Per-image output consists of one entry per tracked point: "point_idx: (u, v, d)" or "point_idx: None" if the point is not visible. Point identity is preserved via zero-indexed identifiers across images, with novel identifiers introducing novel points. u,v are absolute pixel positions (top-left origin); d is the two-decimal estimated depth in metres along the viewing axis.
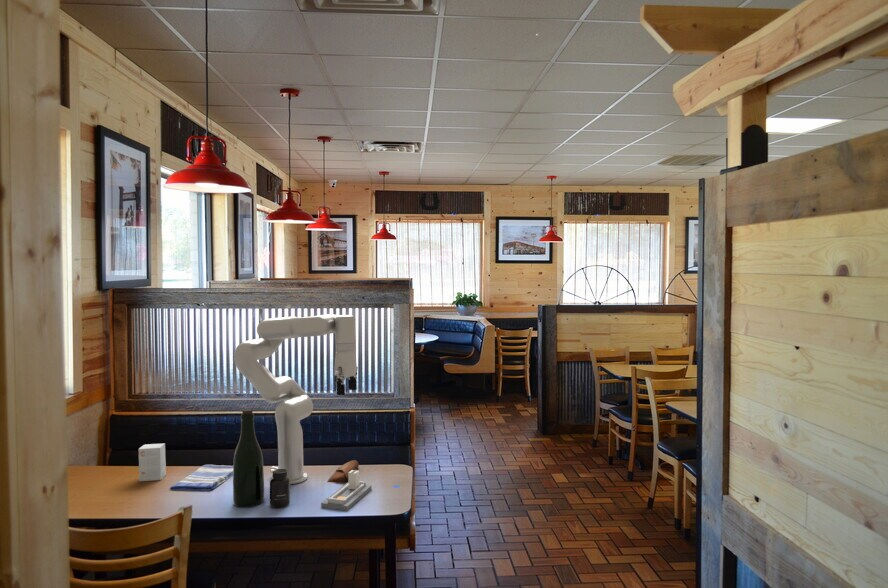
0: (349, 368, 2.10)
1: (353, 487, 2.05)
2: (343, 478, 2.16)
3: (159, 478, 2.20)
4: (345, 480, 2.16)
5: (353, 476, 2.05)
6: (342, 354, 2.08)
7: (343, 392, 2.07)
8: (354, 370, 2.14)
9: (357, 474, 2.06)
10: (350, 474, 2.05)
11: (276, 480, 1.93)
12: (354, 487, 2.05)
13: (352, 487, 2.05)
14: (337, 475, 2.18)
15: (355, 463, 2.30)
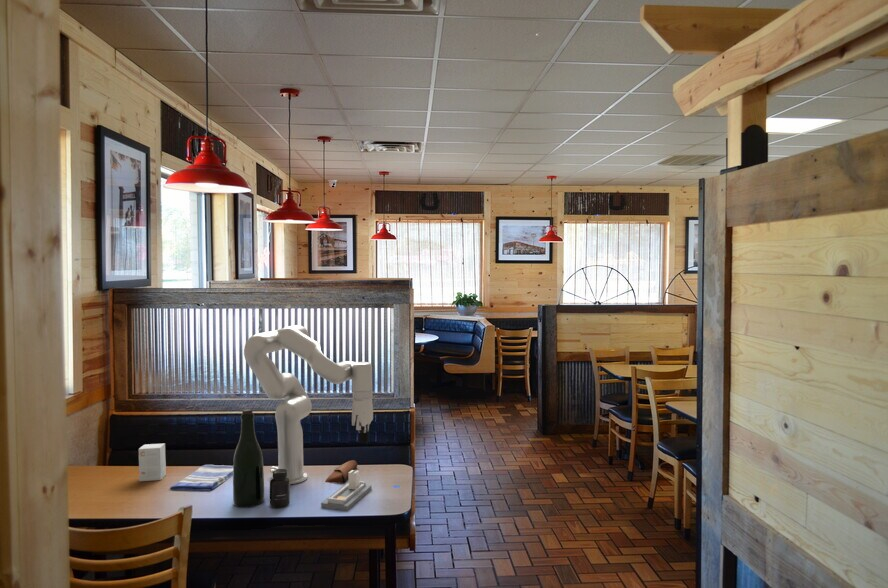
0: (366, 416, 2.11)
1: (353, 487, 2.05)
2: (340, 478, 2.16)
3: (159, 478, 2.20)
4: (343, 480, 2.16)
5: (353, 476, 2.05)
6: (359, 402, 2.09)
7: (366, 440, 2.13)
8: (371, 417, 2.15)
9: (357, 474, 2.06)
10: (350, 474, 2.05)
11: (276, 480, 1.93)
12: (354, 487, 2.05)
13: (352, 487, 2.05)
14: (335, 475, 2.19)
15: (354, 463, 2.30)
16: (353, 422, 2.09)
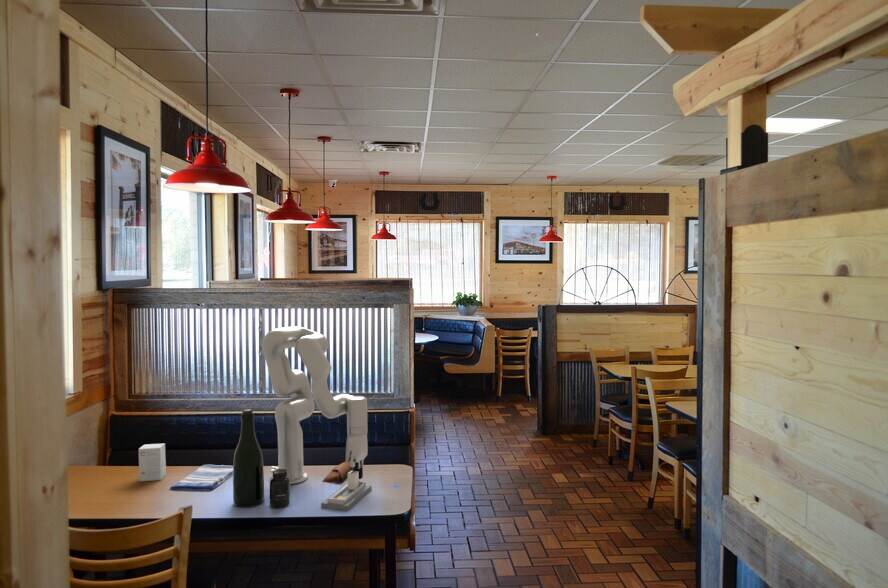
0: (361, 452, 2.07)
1: (352, 488, 2.04)
2: (338, 478, 2.16)
3: (159, 478, 2.20)
4: (340, 480, 2.16)
5: (352, 477, 2.04)
6: (354, 438, 2.05)
7: (360, 476, 2.09)
8: (365, 452, 2.11)
9: (356, 475, 2.05)
10: (349, 475, 2.05)
11: (276, 480, 1.93)
12: (353, 488, 2.04)
13: (351, 488, 2.04)
14: (332, 475, 2.19)
15: None
16: (347, 458, 2.05)
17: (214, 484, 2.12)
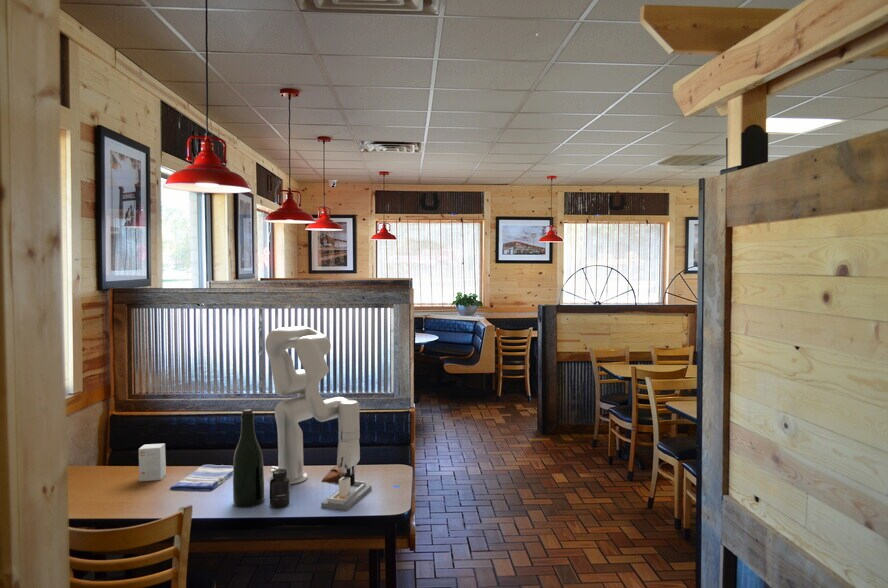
0: (352, 457, 2.00)
1: (344, 495, 1.98)
2: (337, 478, 2.17)
3: (159, 478, 2.20)
4: None
5: (344, 484, 1.98)
6: (345, 444, 1.98)
7: (351, 483, 2.02)
8: (357, 458, 2.05)
9: (348, 481, 1.99)
10: (341, 481, 1.98)
11: (276, 480, 1.93)
12: (345, 495, 1.98)
13: (343, 495, 1.98)
14: (331, 475, 2.19)
15: None
16: (338, 464, 1.99)
17: (214, 484, 2.12)
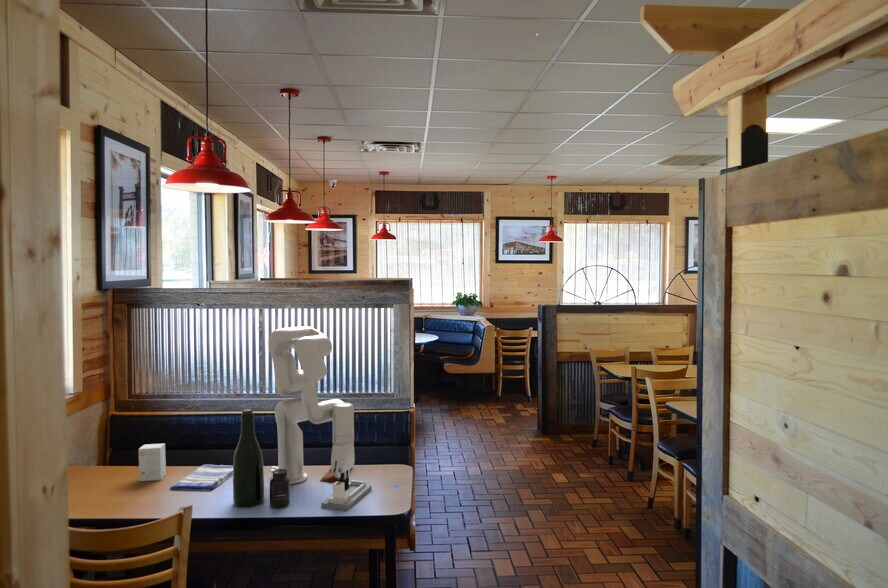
0: (347, 461, 1.96)
1: None
2: (335, 478, 2.17)
3: (159, 478, 2.20)
4: (337, 480, 2.17)
5: (338, 488, 1.93)
6: (339, 447, 1.94)
7: (346, 487, 1.98)
8: (352, 462, 2.00)
9: (342, 486, 1.94)
10: (334, 486, 1.94)
11: (276, 480, 1.93)
12: None
13: None
14: (330, 474, 2.19)
15: None
16: (332, 468, 1.94)
17: (214, 484, 2.12)
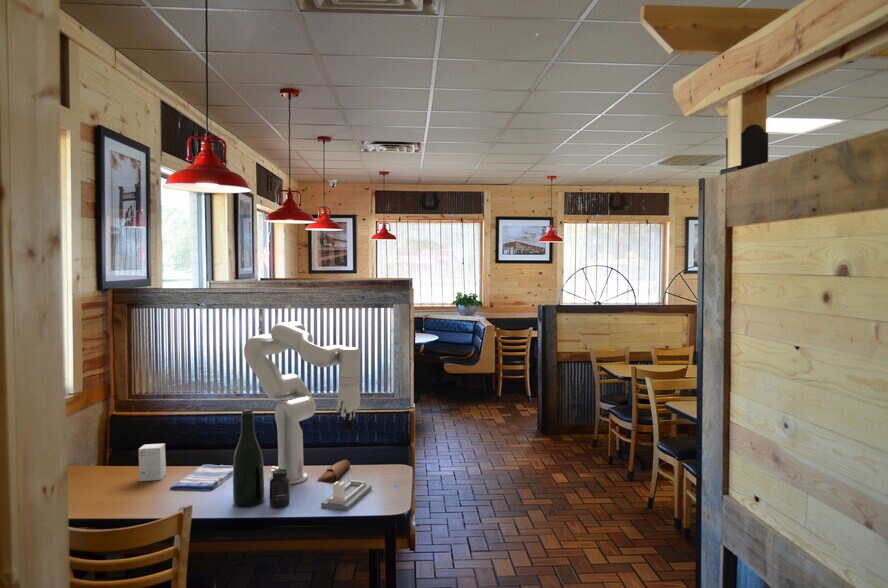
0: (352, 402, 2.04)
1: None
2: (332, 477, 2.17)
3: (159, 478, 2.20)
4: (334, 479, 2.17)
5: (338, 488, 1.93)
6: (345, 388, 2.02)
7: (351, 427, 2.06)
8: (357, 404, 2.08)
9: (342, 486, 1.94)
10: (334, 486, 1.94)
11: (276, 480, 1.93)
12: None
13: None
14: (327, 474, 2.19)
15: (346, 463, 2.31)
16: (338, 408, 2.03)
17: (214, 484, 2.12)
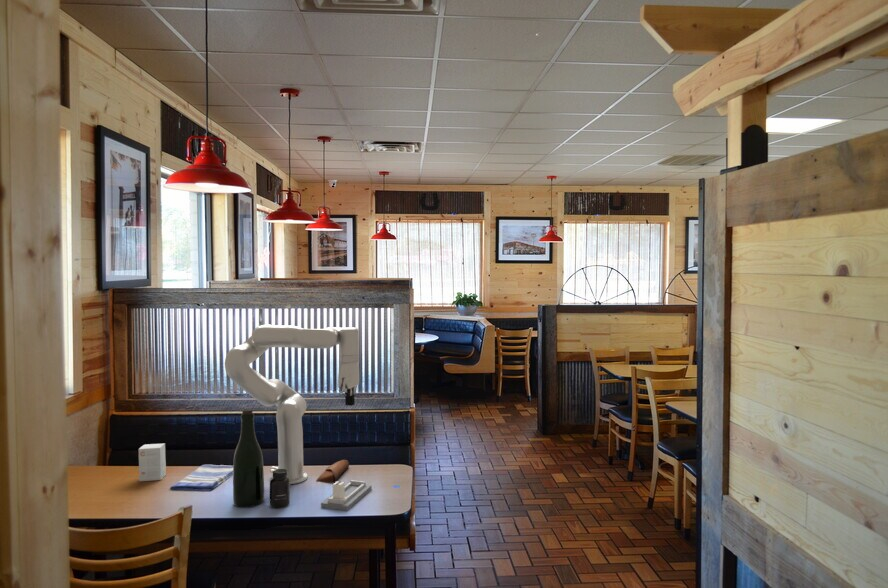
0: (352, 379, 2.18)
1: None
2: (331, 477, 2.17)
3: (159, 478, 2.20)
4: (333, 479, 2.17)
5: (338, 488, 1.93)
6: (346, 365, 2.16)
7: (351, 403, 2.20)
8: (357, 380, 2.22)
9: (342, 486, 1.94)
10: (334, 486, 1.94)
11: (276, 480, 1.93)
12: None
13: None
14: (326, 474, 2.19)
15: (345, 463, 2.31)
16: (339, 384, 2.16)
17: (214, 484, 2.12)
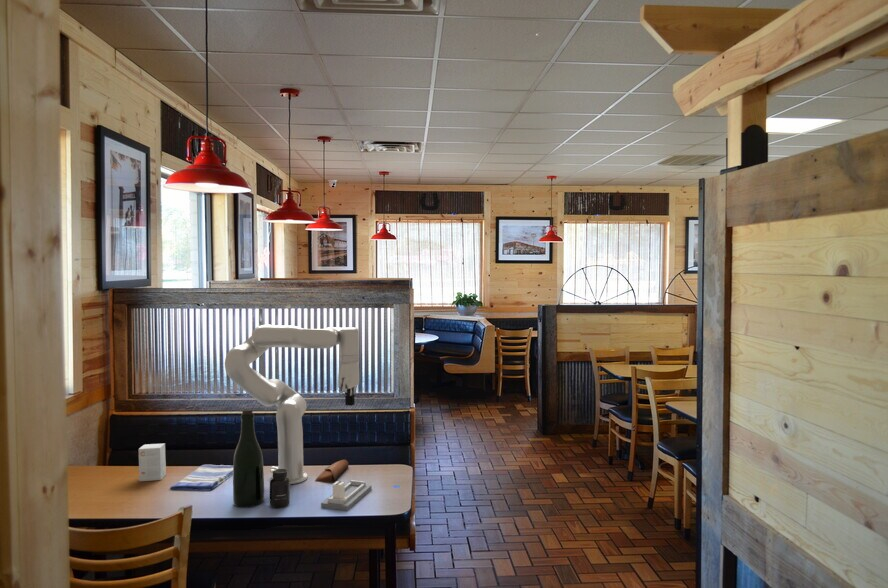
0: (352, 379, 2.18)
1: None
2: (330, 477, 2.17)
3: (159, 478, 2.20)
4: (332, 479, 2.17)
5: (338, 488, 1.93)
6: (346, 365, 2.16)
7: (351, 403, 2.20)
8: (357, 380, 2.22)
9: (342, 486, 1.94)
10: (334, 486, 1.94)
11: (276, 480, 1.93)
12: None
13: None
14: (325, 474, 2.19)
15: (345, 463, 2.31)
16: (339, 384, 2.16)
17: (214, 484, 2.12)
